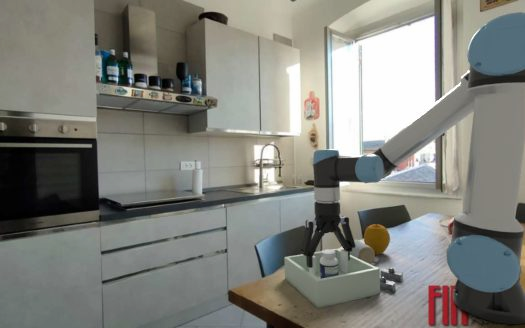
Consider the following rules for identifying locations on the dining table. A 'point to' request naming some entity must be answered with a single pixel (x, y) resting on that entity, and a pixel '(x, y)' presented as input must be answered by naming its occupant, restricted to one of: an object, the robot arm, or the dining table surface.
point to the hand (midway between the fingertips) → (329, 274)
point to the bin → (332, 280)
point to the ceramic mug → (363, 252)
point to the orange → (377, 238)
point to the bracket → (389, 275)
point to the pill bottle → (328, 264)
